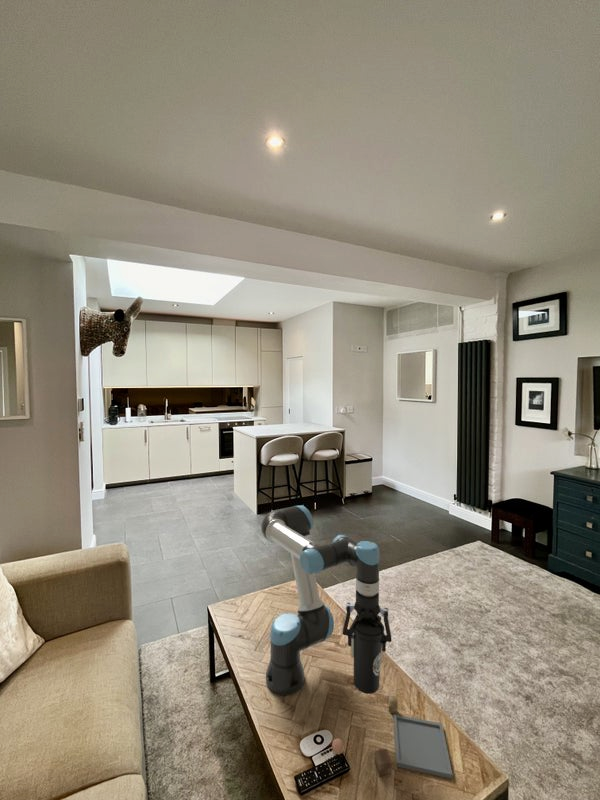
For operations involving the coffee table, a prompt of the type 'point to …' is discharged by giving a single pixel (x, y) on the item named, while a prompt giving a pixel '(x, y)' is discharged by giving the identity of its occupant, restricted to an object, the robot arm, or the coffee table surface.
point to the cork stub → (393, 705)
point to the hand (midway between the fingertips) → (366, 657)
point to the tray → (421, 746)
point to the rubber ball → (337, 746)
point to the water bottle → (367, 654)
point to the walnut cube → (383, 763)
